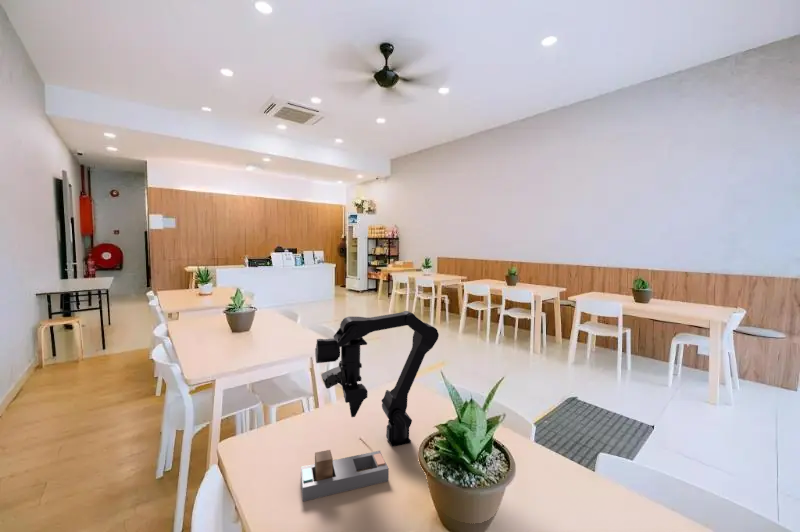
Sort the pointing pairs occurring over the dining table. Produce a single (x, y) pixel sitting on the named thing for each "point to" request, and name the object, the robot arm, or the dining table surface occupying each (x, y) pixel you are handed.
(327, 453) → the brown wooden block
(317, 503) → the dining table surface
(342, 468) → the socket strip
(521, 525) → the dining table surface
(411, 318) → the robot arm
